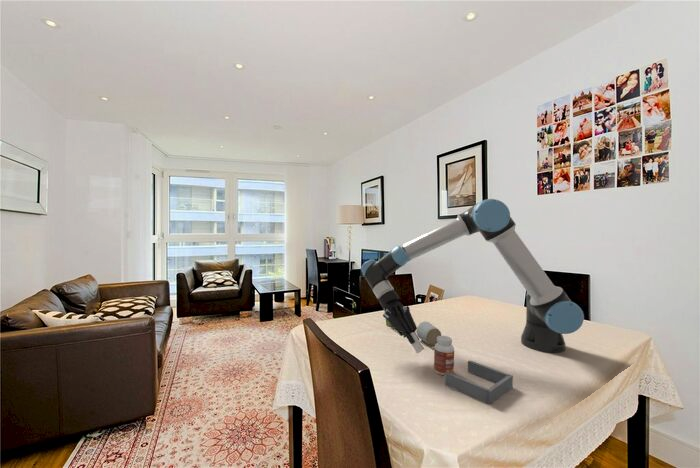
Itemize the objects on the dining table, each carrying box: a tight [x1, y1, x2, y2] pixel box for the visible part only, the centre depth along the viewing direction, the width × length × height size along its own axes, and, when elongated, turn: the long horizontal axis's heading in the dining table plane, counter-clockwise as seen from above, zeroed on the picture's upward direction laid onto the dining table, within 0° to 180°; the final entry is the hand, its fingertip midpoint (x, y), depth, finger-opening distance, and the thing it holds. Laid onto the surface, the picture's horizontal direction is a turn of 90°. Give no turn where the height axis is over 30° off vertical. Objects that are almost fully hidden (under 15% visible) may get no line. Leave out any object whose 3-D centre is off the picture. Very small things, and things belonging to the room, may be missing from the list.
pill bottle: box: [433, 335, 455, 376], centre depth 100 cm, size 6×6×11 cm
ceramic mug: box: [416, 321, 442, 346], centre depth 126 cm, size 11×8×8 cm
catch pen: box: [444, 360, 514, 405], centre depth 91 cm, size 14×14×4 cm
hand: (420, 350), depth 107 cm, fingers closed
